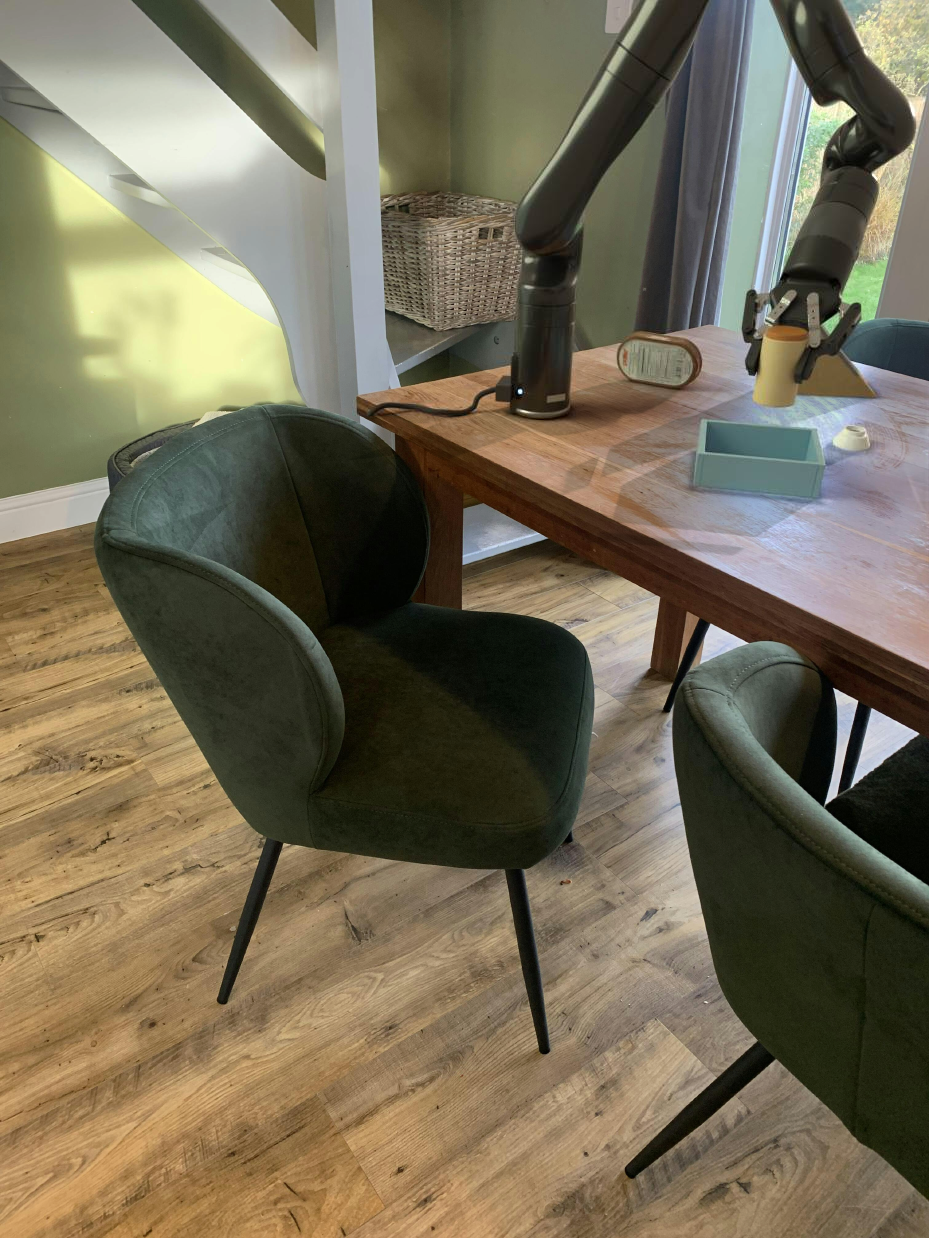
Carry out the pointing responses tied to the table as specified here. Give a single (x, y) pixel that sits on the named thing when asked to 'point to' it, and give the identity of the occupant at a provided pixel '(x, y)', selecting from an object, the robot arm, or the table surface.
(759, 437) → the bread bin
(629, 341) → the tin
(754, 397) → the lidded cream canister
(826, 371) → the sandwich container
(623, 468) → the table surface
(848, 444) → the cream truncated cone
